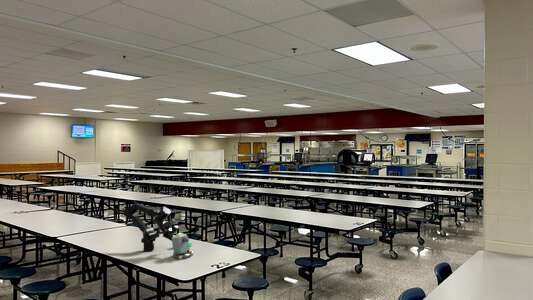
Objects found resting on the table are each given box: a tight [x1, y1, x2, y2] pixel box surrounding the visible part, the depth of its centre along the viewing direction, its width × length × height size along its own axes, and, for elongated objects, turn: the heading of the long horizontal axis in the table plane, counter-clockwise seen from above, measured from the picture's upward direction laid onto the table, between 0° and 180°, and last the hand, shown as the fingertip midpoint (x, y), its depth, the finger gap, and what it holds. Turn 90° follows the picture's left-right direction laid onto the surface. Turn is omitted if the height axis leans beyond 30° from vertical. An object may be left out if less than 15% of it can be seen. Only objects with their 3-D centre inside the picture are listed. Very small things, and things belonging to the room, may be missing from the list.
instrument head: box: [171, 232, 191, 254], centre depth 246 cm, size 10×10×13 cm
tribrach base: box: [172, 250, 194, 261], centre depth 246 cm, size 13×13×4 cm
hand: (173, 240), depth 249 cm, fingers closed
